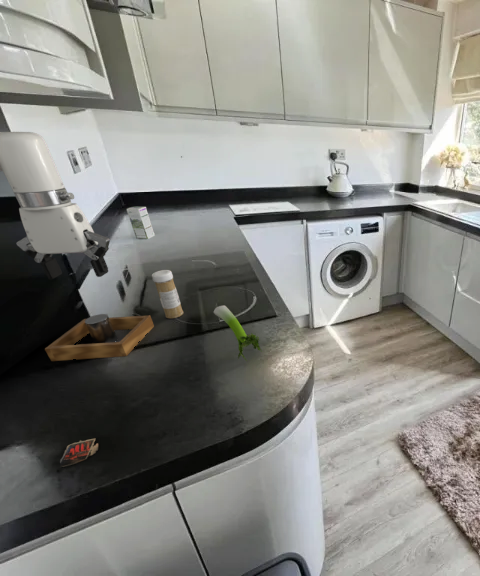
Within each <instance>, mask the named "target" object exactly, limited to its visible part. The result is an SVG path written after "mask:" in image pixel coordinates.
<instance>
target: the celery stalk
mask: <svg viewBox="0 0 480 576" xmlns="http://www.w3.org/2000/svg"><path fill="white" fill-rule="evenodd" d="M213 314H214V315H215V316H217V317H218V318H220V319H221V320H223V322H225V323H226V324H227V325H228V327H229V328H230V330H231V331H232V332H233V333H234V336H235V338H236V340H237V343H238V344H237V345H238V351H239V352H238V355H237V360H240V357H241V356H242V358H243V359H244V360H245V361H246V362H248V360H247V359H246V357H245V355H244V354H243V352H244V348H247V347H248V346H250V345H252V348H253V349H254V350H258V351H260V352H261V353H262V352H263V351H262V350H261V346H260V343H259V341H261V340H260V339H259V338H260V337H259V336H257V335H256V334H253V333H252V332H251V333H250V334H247V333H246V332H245V330H244V328H243V326H242V325H241V323H240V322H239V320H238V318H237V317H236V316H235V315H234V314H233V312H232V311H231V310H230V309H229V308H228V307H227V306H226V305H219V306H217V307H215V308H214V311H213Z"/></svg>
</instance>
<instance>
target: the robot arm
mask: <svg viewBox="0 0 480 576" xmlns="http://www.w3.org/2000/svg"><path fill="white" fill-rule="evenodd" d="M0 172H3V174H4V176H5V178H6V180H7V182H8V184H9V186H10V188H11V190H12V192H13V194H14V196H15V198H16V200H17V202H18V204H19V206H20V207H19V208H18V211H19V215H20V220H21V223H22V226H23V228H24V231H25V233H26V236H25V237H23V238H22V239H20V240H18V241H17V242H16V246H17V247H19V248H20V249H21V250H22V251H23V252H25V254H26V255H27V256H29V257H30V258H32V259H33V260H34V261H35V263H39V264H40V265H41V267H42V269H43V271H44V273H45V275H46V278H47V279H48V280H54V279H55V278H57V277H59V276H61V275H62V274H63V272H62V269H61V267H60V265H59V263H58V261H57V259H56V258H55V257H52V256H53V255H60V254H61V255H62V254H64V255H65V254H81V253H82V254H84V255H86V256H87V257H88V258H90V259H91V260H90V261H89V262H90V264H91V265H90V266H91V268H92V270H93V271H94V275H95V277H97V278H101V277H103V276H105V275H107V274H108V273H109V267H108V264H107V261H106V260H105V256H106V254H107V252H108V251H109V246H110V241H111V240H110V238H109V237H107V236H104V235H101V234H99V233H95V231H94V229H93V227H92V225H91V223H90V221H89V220H88V218H87V217H86V215H85V213H84V212H83V210H82V208H81V207H80V206H79V205H78V204H77V203H76V202H72V200H74V199H75V195H74V193H73V192H68V191H67V188H66V187H65V184H64V182H63V179H62V177H61V174H60V173H59V170H58V167H57V165H56V163H55V160H54V158H53V156H52V153H51V151H50V149H49V146H48V144H47V142H46V140H45V139H44V137H43V136H42V135H40V134H39V133H36V132H32V131H0Z"/></svg>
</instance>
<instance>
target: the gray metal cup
mask: <svg viewBox="0 0 480 576" xmlns="http://www.w3.org/2000/svg"><path fill="white" fill-rule="evenodd" d="M109 318H110V317H109V315H108V314H107V313H99V314H95V315H92V316H89V317H87V318H85V319H86V320H85V324H86V326H87V328H88V330H89V332H90V333H89V334H90V337H91V339H92V341H93V344H96V343H112V342H115V341H117V342H118V340H119V338H118V336H117V333H116V330H114V329H113V326H112V324H111V322H110V319H109ZM117 339H118V340H117Z"/></svg>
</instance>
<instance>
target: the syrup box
mask: <svg viewBox="0 0 480 576" xmlns="http://www.w3.org/2000/svg"><path fill="white" fill-rule="evenodd" d="M126 213H127V215H128V218H129V221H130V225H131V227H132V230H133V232H134V233H133V234H134V236H135V238H136V239H137V240H138V239H139V240H149V239H151V238H154V237H155V236H156V234H155V232H154V229H153V225H152V223H151V219H150V215H149V213H148V210H147V206H131V207H127V208H126Z"/></svg>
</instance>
